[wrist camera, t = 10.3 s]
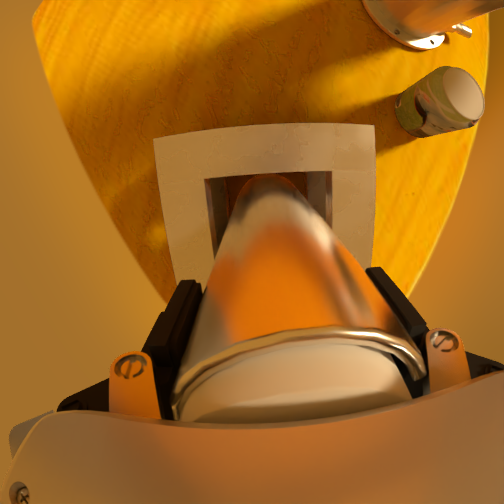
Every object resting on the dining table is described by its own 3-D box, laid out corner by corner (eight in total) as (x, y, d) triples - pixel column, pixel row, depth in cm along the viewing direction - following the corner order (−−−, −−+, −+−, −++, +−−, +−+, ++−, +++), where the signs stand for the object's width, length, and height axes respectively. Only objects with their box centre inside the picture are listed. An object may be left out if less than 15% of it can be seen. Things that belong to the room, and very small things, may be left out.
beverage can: (415, 147, 27) (480, 156, 16) (374, 103, 25) (433, 88, 14) (438, 115, 25) (503, 115, 14) (400, 72, 23) (460, 50, 12)
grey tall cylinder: (288, 242, 29) (348, 493, 6) (229, 224, 29) (154, 477, 5) (309, 185, 27) (491, 373, 4) (247, 164, 26) (173, 325, 3)
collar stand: (330, 131, 27) (374, 125, 16) (331, 258, 32) (364, 314, 21) (193, 140, 27) (152, 138, 16) (208, 265, 33) (186, 326, 22)
